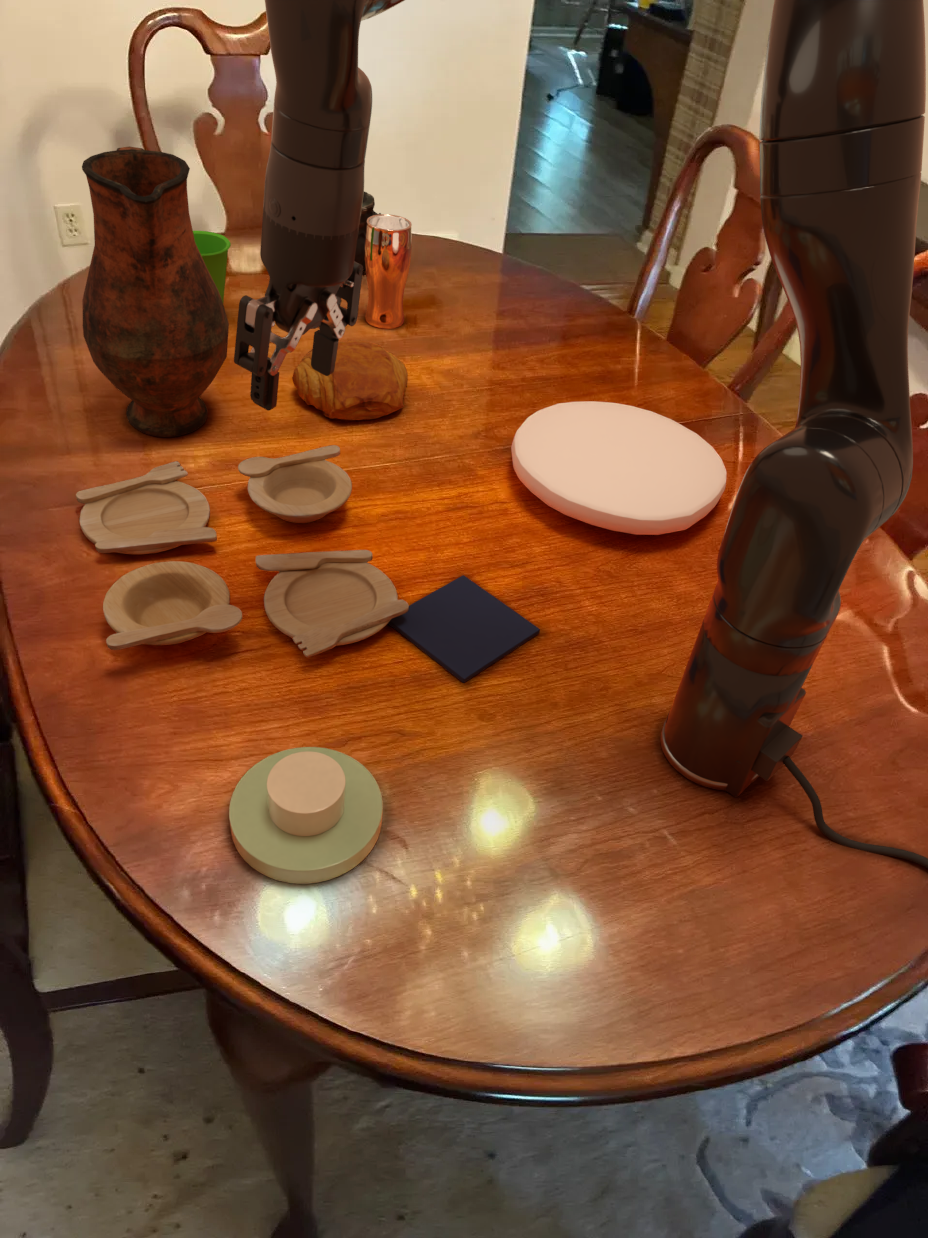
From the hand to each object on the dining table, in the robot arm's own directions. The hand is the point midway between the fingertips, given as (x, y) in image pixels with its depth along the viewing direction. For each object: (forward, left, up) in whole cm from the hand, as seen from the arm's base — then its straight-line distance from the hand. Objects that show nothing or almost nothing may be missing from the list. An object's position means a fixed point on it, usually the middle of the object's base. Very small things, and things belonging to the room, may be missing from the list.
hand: (293, 387), depth 84 cm
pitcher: (+36, -7, -21) cm, 43 cm away
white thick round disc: (-11, -41, -21) cm, 47 cm away
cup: (+56, -26, -21) cm, 65 cm away
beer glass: (+40, -48, -21) cm, 66 cm away
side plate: (-26, +19, -21) cm, 38 cm away
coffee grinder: (+58, -55, -21) cm, 83 cm away
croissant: (+24, -28, -21) cm, 43 cm away
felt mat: (-18, -7, -21) cm, 28 cm away
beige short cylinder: (-26, +19, -19) cm, 37 cm away
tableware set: (+4, +5, -21) cm, 22 cm away
